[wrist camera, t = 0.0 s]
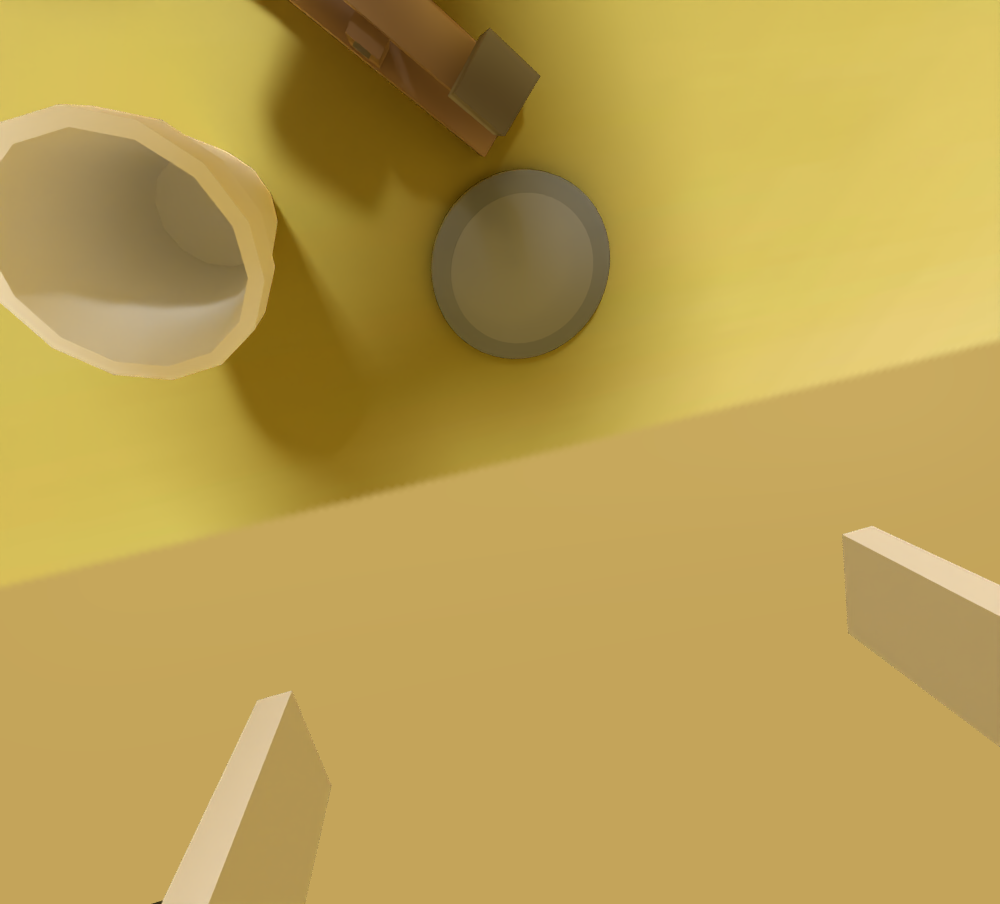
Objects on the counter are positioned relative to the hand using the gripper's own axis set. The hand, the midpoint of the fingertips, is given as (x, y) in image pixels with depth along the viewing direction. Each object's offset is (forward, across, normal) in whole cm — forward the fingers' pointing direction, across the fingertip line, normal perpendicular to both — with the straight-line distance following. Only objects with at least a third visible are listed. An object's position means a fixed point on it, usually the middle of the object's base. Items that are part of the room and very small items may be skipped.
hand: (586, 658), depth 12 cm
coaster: (+26, +5, +10) cm, 28 cm away
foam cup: (+24, -12, +17) cm, 32 cm away
